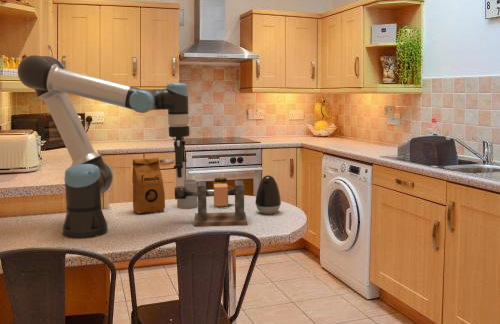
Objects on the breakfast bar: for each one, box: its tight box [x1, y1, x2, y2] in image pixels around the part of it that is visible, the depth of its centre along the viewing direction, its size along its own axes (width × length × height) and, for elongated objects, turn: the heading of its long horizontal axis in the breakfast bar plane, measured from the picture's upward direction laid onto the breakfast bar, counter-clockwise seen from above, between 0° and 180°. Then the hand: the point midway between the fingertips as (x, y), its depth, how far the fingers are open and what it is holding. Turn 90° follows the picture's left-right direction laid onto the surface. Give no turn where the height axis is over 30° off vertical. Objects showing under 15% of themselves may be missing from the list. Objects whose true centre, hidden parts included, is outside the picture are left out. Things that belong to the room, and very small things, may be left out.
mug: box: [176, 178, 198, 210], centre depth 231 cm, size 12×8×11 cm
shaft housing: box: [193, 180, 248, 228], centre depth 205 cm, size 20×14×14 cm
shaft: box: [174, 187, 236, 200], centre depth 204 cm, size 24×4×4 cm, turn 94°
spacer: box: [213, 183, 229, 206], centre depth 204 cm, size 5×7×7 cm
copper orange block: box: [210, 177, 235, 209], centre depth 230 cm, size 7×8×12 cm
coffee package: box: [131, 157, 166, 214], centre depth 220 cm, size 10×12×22 cm
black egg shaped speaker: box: [254, 175, 282, 215], centre depth 217 cm, size 10×10×15 cm
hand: (181, 182), depth 202 cm, fingers open, 13 cm apart
